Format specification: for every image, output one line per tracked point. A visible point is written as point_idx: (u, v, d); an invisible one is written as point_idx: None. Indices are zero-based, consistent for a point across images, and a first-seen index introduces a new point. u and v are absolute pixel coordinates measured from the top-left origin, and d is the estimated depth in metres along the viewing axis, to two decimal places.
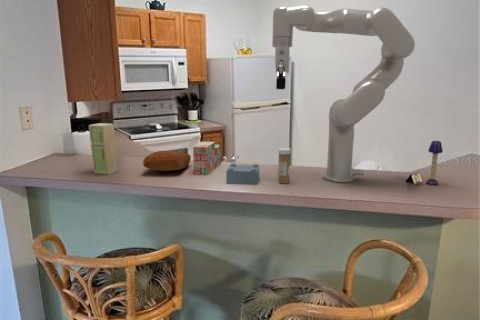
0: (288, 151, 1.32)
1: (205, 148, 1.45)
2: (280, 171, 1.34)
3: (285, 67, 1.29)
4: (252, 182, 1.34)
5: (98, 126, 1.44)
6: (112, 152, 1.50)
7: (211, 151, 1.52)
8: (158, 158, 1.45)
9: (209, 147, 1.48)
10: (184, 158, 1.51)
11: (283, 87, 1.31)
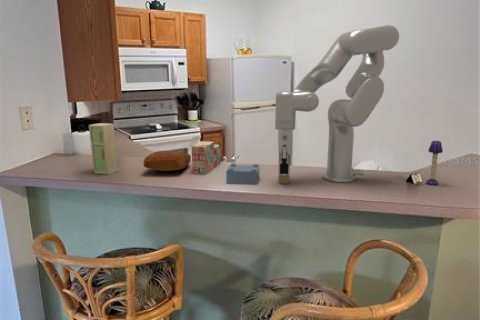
0: None
1: (203, 148, 1.46)
2: None
3: (288, 154, 1.30)
4: (252, 182, 1.34)
5: (98, 126, 1.44)
6: (112, 152, 1.50)
7: (210, 151, 1.52)
8: (158, 158, 1.45)
9: (208, 147, 1.49)
10: (184, 158, 1.51)
11: (286, 172, 1.33)
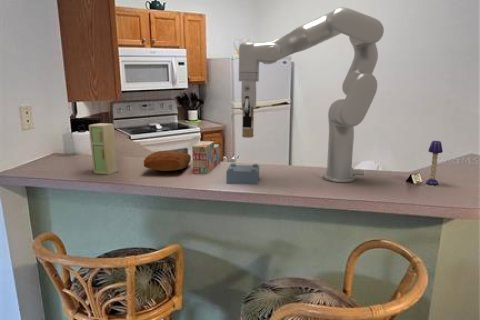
0: None
1: (204, 148, 1.46)
2: None
3: (251, 106, 1.28)
4: (252, 182, 1.34)
5: (98, 126, 1.44)
6: (112, 152, 1.50)
7: (210, 151, 1.52)
8: (159, 158, 1.45)
9: (208, 147, 1.49)
10: (184, 158, 1.51)
11: (249, 125, 1.31)
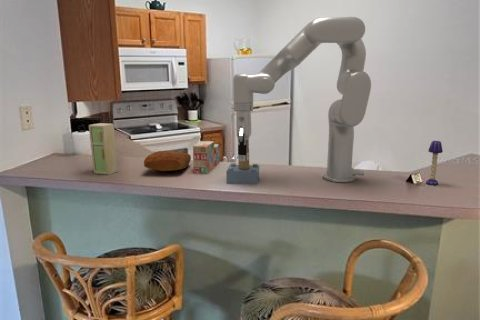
0: (246, 137, 1.34)
1: (205, 147, 1.47)
2: (239, 157, 1.36)
3: (246, 135, 1.31)
4: (252, 182, 1.34)
5: (98, 126, 1.44)
6: (112, 152, 1.50)
7: (211, 150, 1.53)
8: (159, 158, 1.45)
9: (209, 146, 1.50)
10: (185, 158, 1.51)
11: (244, 153, 1.33)
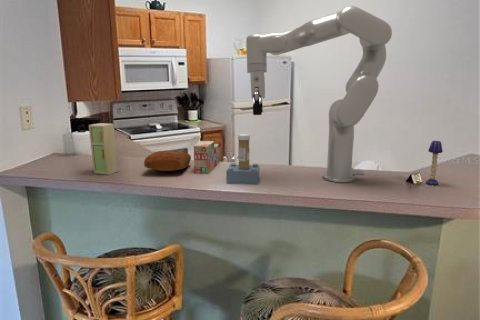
0: (247, 137, 1.34)
1: (205, 147, 1.47)
2: (239, 157, 1.36)
3: (261, 93, 1.31)
4: (252, 182, 1.34)
5: (98, 126, 1.44)
6: (112, 152, 1.50)
7: (211, 150, 1.53)
8: (159, 158, 1.45)
9: (209, 146, 1.50)
10: (185, 158, 1.51)
11: (260, 113, 1.32)
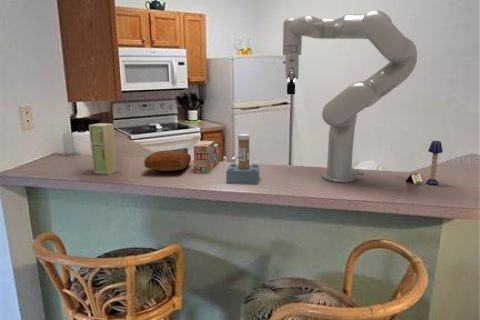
0: (247, 137, 1.34)
1: (206, 147, 1.47)
2: (239, 157, 1.36)
3: (295, 74, 1.40)
4: (252, 182, 1.34)
5: (98, 126, 1.44)
6: (112, 152, 1.50)
7: (211, 150, 1.54)
8: (159, 158, 1.45)
9: (209, 146, 1.50)
10: (185, 158, 1.51)
11: (293, 92, 1.41)
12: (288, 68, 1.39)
